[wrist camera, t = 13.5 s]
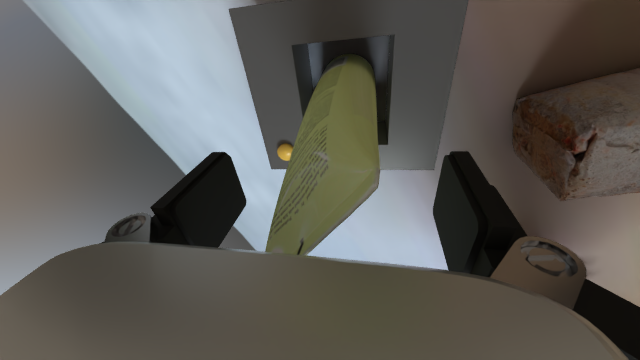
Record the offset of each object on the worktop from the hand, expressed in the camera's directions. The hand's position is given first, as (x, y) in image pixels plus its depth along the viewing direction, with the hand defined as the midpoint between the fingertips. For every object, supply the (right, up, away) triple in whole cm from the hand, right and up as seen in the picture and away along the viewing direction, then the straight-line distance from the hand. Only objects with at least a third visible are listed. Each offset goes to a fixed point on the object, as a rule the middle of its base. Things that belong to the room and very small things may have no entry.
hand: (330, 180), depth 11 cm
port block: (+2, +9, +12) cm, 15 cm away
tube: (+2, +9, +12) cm, 15 cm away
